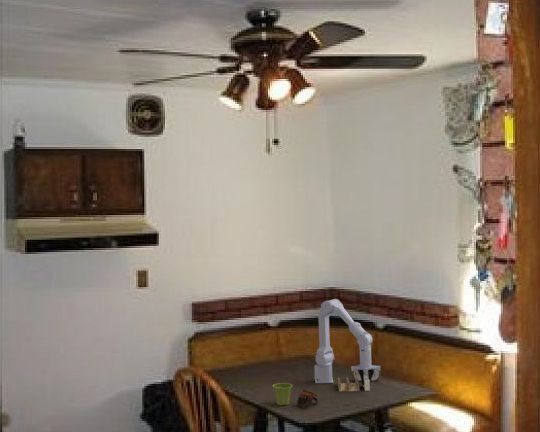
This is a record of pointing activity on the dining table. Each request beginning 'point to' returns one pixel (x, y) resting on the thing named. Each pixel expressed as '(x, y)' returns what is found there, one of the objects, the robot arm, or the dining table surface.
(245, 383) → the dining table surface
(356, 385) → the rack
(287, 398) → the plant pot
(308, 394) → the pottery mug
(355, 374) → the tin
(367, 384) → the tile
